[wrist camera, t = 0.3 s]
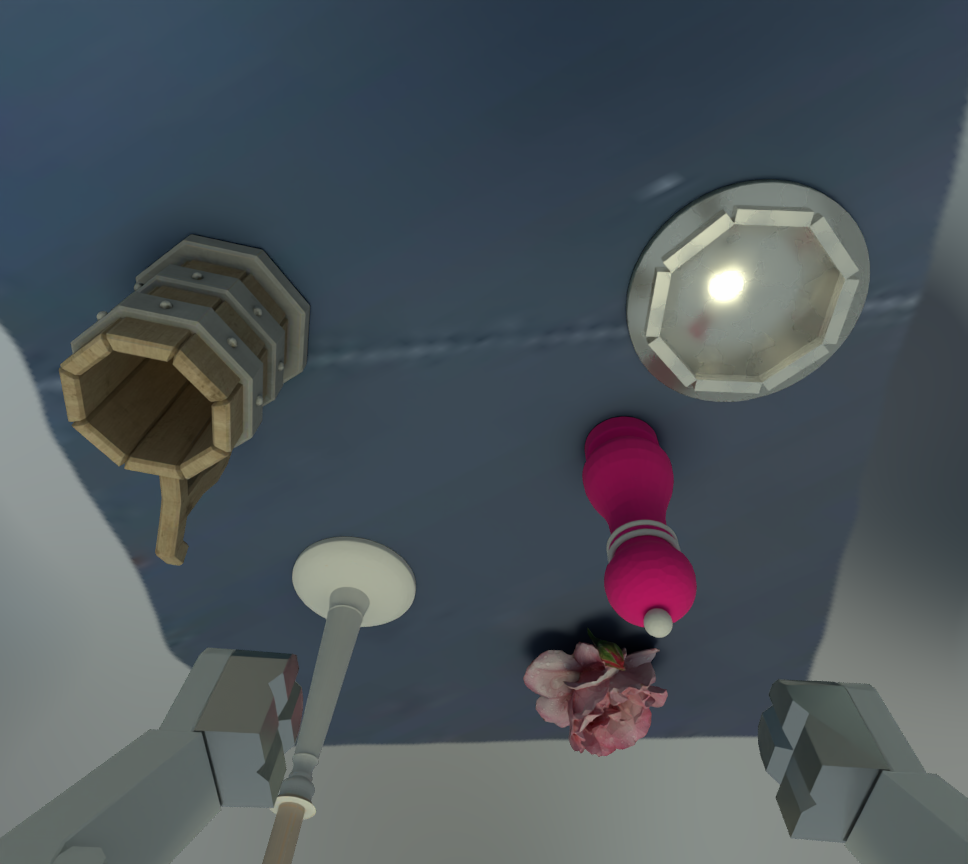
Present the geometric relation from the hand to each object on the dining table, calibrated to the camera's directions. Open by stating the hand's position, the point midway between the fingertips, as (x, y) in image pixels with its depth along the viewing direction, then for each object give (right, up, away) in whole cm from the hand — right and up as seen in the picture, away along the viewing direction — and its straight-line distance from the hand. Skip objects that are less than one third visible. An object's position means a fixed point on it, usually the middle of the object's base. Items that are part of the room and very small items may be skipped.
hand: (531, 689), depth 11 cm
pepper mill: (+11, +3, +46) cm, 47 cm away
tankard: (-22, +11, +43) cm, 49 cm away
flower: (+11, -20, +62) cm, 67 cm away
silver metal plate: (+18, +14, +38) cm, 44 cm away
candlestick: (-14, -11, +57) cm, 60 cm away
